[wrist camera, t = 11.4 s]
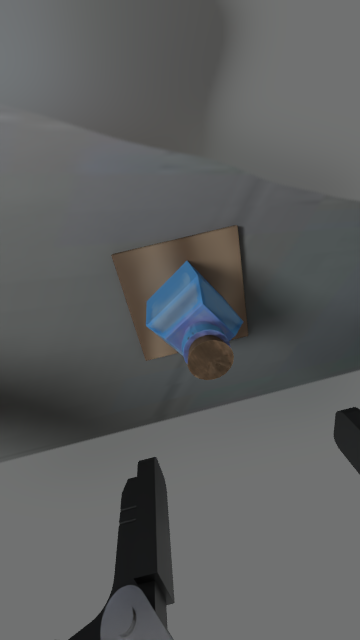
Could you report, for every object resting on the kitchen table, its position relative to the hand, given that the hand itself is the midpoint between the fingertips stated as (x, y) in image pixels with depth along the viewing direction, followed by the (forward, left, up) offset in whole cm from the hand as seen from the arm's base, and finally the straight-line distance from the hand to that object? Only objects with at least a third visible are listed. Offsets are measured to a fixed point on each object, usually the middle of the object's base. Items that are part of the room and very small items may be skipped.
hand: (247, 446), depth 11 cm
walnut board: (0, 0, -19) cm, 19 cm away
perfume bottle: (0, 0, -19) cm, 19 cm away
